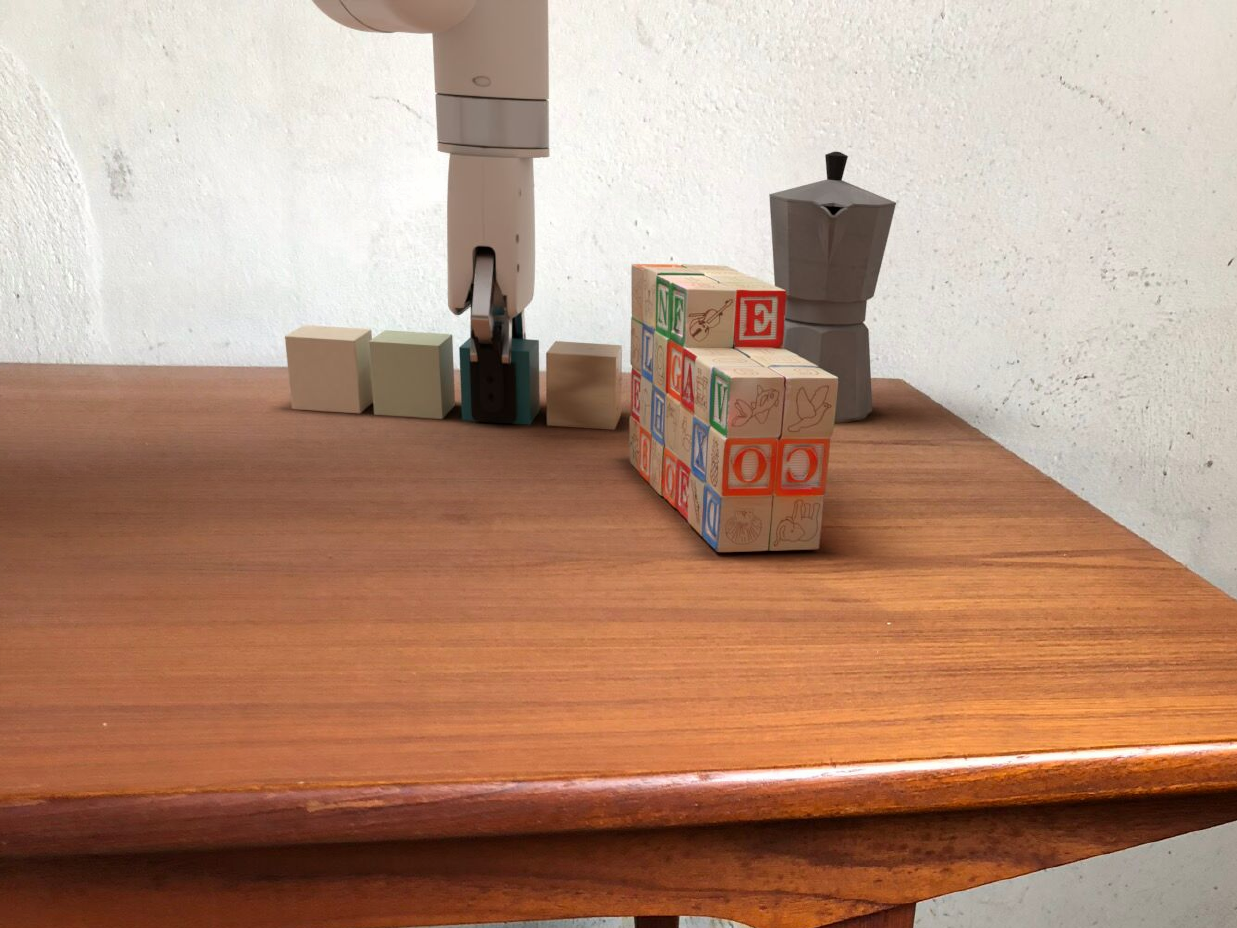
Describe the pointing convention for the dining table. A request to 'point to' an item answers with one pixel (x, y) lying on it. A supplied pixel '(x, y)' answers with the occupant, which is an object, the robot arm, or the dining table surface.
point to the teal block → (526, 380)
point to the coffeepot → (831, 277)
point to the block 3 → (583, 385)
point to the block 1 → (329, 369)
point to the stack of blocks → (727, 408)
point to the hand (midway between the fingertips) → (500, 409)
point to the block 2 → (412, 374)
